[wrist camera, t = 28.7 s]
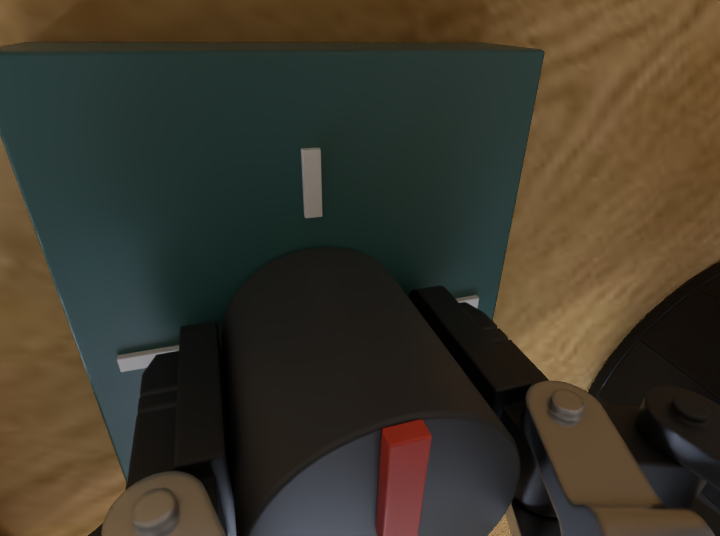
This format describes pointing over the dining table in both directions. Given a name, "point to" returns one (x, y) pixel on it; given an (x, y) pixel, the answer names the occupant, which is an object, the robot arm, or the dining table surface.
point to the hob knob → (354, 410)
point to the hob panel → (254, 176)
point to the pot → (670, 353)
